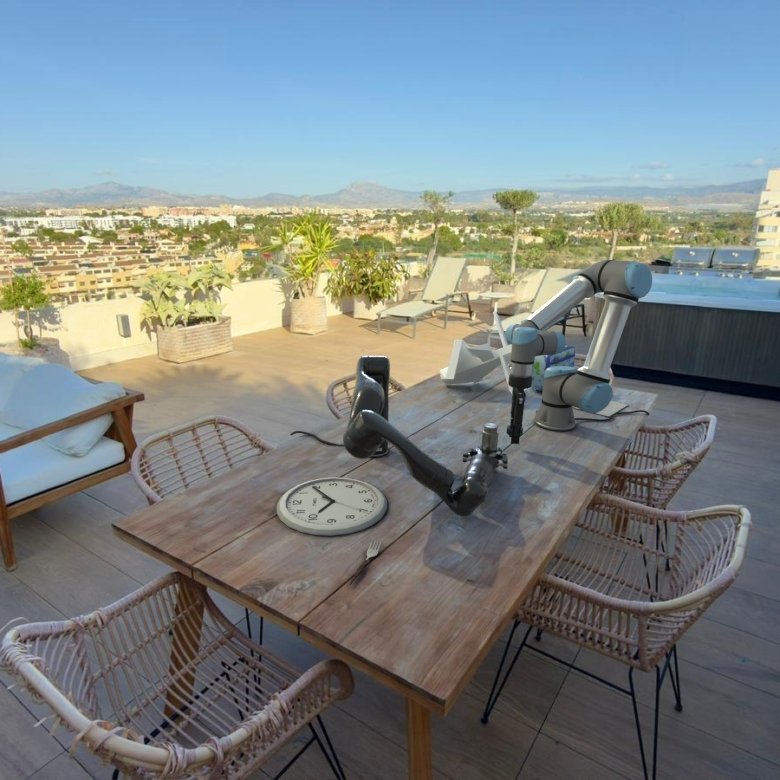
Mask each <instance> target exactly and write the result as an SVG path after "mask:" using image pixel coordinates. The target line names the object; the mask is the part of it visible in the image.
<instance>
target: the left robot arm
mask: <svg viewBox="0 0 780 780" xmlns="http://www.w3.org/2000/svg"><path fill="white" fill-rule="evenodd" d="M355 367H356V368H355V383H354V388H353V392H352V397H351V405H350V410H349V417H348V421H347V425H346V427H345V430H344V432H343V435H342V443H343V444H339V443H334V442H331V441H327V440H324V439H321V438H320V437H319V436H317V435H316V434H314V433H311V432H306V431H302V430H295V431H292V432H291V433H290V434H289V436H293V435H295V434H303V435H306V436H310V437H314V438H315V439H316V440H317V441H319V442H321V443H323V444H326V445H329V446H333V447H344V448H345V450H346V451H347V452H348V454H349V455H350V456H352V457H353V458H354V459H357V460H367V459H369V458H371V457H372V458H379V457H383V456H386V455H387V454H389V445H392V447H394V448H395V449H396V451H398V453H399V455H400V456H401V458H402V460H403V463H404V464H405V467H406V468H407V470H408V472H409V473H410V476H411V477H412V478H413V479H414V481H416V482H418V483H419V484H420V485H422V486H423V487H425V488H427V489H428V490H430V492H433V493H435V495H437V496H438V497H439V499H441V501H442V502H443V503H444V504H445V505H446V506H447V507H448V508H449V510H451V512H452V513H453V514H455V515H456V516H458V517H461V518H462V517H463V518H465V517H466V518H467V517H469V516H471V515H472V514H473V513H474V512H475V511H476V510H477V509H478V508H479V507H480V506H481V505H482V504H483V503H484V502H485V501H486V499H487V498H488V495H489V488H488V486H489V484H490V483H491V481H492V479H493V477H494V474H495V473H496V469H498V468H499V467H501V468H502V469H503V470H507V469H508V465H509V460H508V456H507V453H505V452H504V453H503V449H501V447H498V446H497V451H496V453H492V454H490V455H487V454H482V452H481V446H482V444H480V445H478V446H477V448H475V449H474V448H473V447H472V448H469V449H467V450H466V451H465V452H463V453H462V463H467V462H469V464H468V465H466V469H465V472H464V474H463V477H462V479H461V484H460V485H459V486H458V487H457V488H456V489H455V490H454V489H452V487H453V486H454V484H455V480H456V477H455V475H456V474H455V473H454V472H453V471H452V470H451V469H449V468H448V467H446V466H445V465H443V464H441V463H440V462H438V461H437V460H435V459H434V458H432V457H431V456H430V455H428V454H427V453H425V452H424V451H423V450H421V448H419V447H418V446H417V445H416V444H415V443H414V442H412V441H411V440H410V439H409V438H408V437H407V436H406V435H404V434H403V433H402V432H401V431H400V430H399V429H397V428H396V427H395V426H394V425H393V424H392V423H391V422H389V418H390V417H389V415H390V414H389V411H390V410H389V409H390V407H389V405H390V395H389V394H390V377H391V361H390V358H389V357H388V356H385V355H363V356H360V357H359V358H358V360H357V362H356V366H355ZM494 472H495V473H494Z"/></svg>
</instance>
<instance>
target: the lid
mask: <svg viewBox="0 0 780 780" xmlns="http://www.w3.org/2000/svg"><path fill="white" fill-rule="evenodd" d="M506 434H507V435H508V436H509V435H510V436H511V434H512V426H511V425H510V424H509V425H507V426H506ZM523 435H524V427H523V426H522V427H521V431H520V437H521V436H522V437H523Z"/></svg>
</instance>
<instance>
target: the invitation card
mask: <svg viewBox="0 0 780 780" xmlns="http://www.w3.org/2000/svg"><path fill="white" fill-rule="evenodd" d="M628 406H629V404H627V403H623V402H618V401H614V400H611V401H610V403H609V404H608V406H607V407H606V408H605V409H603V410H602V411H600V412H597V413H595V414H596V415H600V416H604V417H608V418H610V417H611V415H612V414H615V413H619V412H620V411H621V410H623V409H624V408H626V407H628ZM573 409H575V410H581V409H579V408H576V407H574V406H573ZM581 411H582V410H581Z"/></svg>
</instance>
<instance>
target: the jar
mask: <svg viewBox="0 0 780 780" xmlns="http://www.w3.org/2000/svg"><path fill="white" fill-rule="evenodd" d="M498 428H499V426H498V424H496V423H490V422H488V423H485V424H484V425H483V429H482V433H481V435H482V436H481V445H482V446H481V452H482V454H487V455H490V454H492V453H496V451H497V449H498V444H499V431H498ZM495 473H496V471H495V472H494V474H495Z"/></svg>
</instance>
